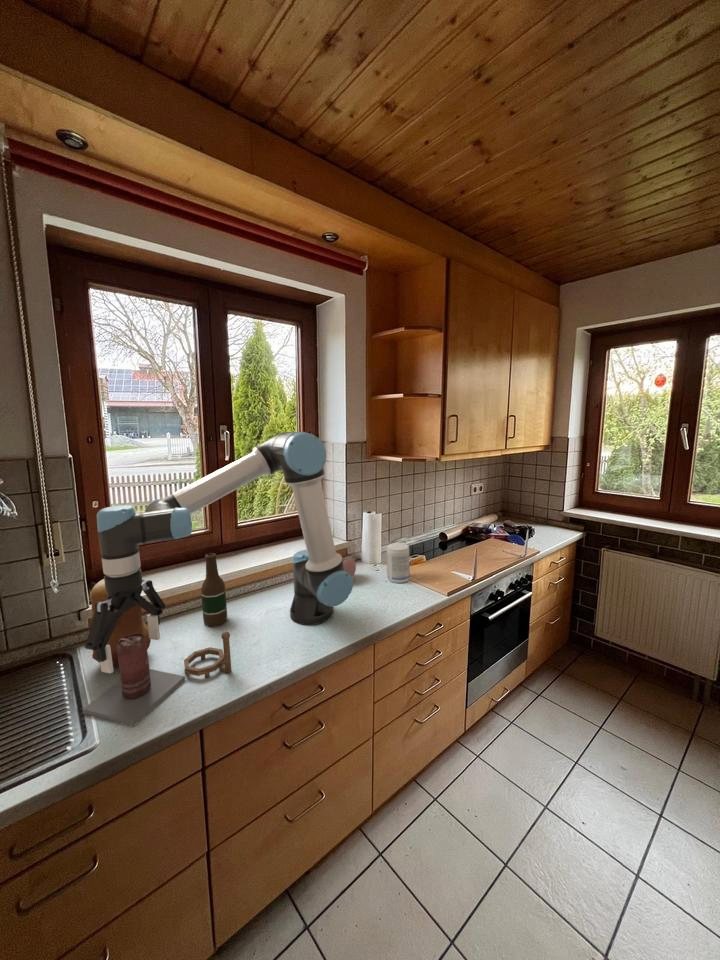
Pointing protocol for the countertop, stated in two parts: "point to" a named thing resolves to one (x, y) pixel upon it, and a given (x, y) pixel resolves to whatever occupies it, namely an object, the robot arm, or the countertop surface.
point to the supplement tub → (398, 562)
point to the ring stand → (213, 651)
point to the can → (133, 666)
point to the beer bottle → (213, 594)
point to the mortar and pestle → (350, 566)
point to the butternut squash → (120, 622)
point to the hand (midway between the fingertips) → (132, 654)
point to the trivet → (133, 710)
